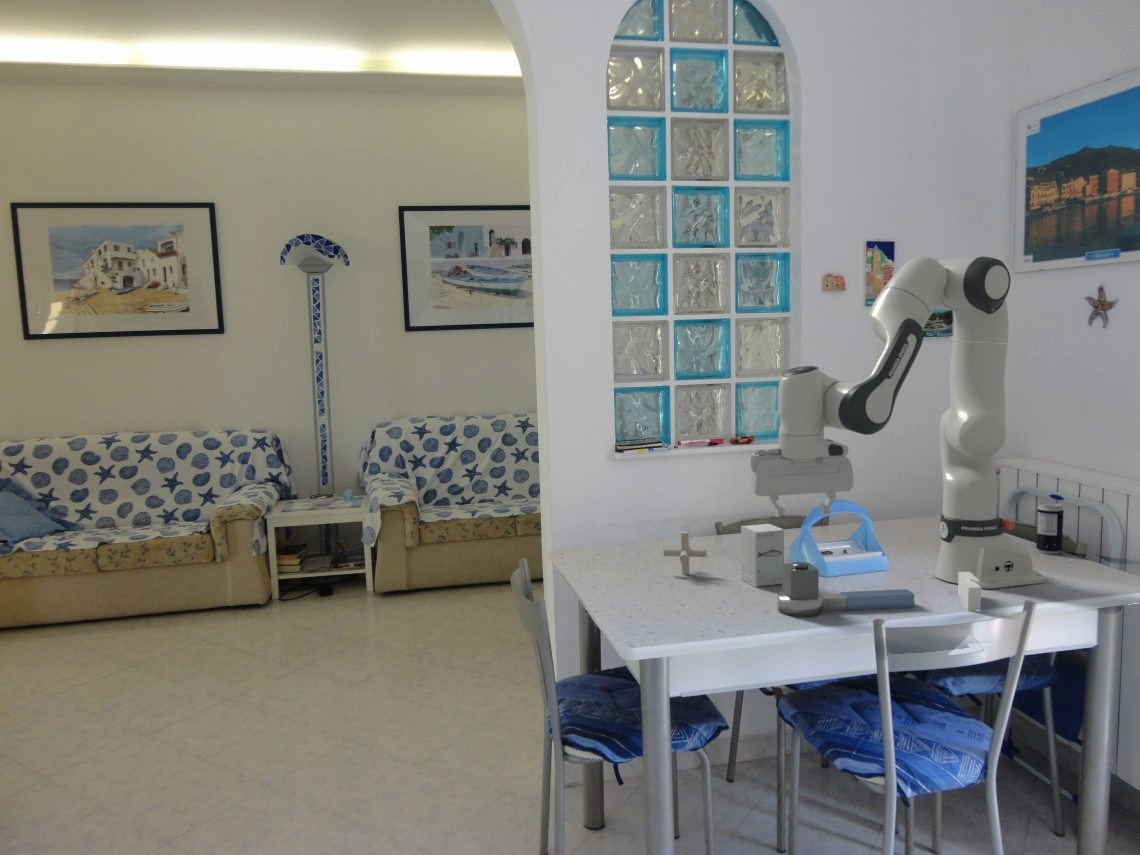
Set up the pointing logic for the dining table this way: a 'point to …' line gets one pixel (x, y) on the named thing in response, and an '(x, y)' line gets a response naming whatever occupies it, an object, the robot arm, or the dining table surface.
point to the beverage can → (1049, 528)
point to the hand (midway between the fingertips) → (802, 515)
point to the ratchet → (846, 602)
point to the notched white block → (969, 591)
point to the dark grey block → (800, 581)
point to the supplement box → (762, 554)
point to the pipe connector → (685, 552)
